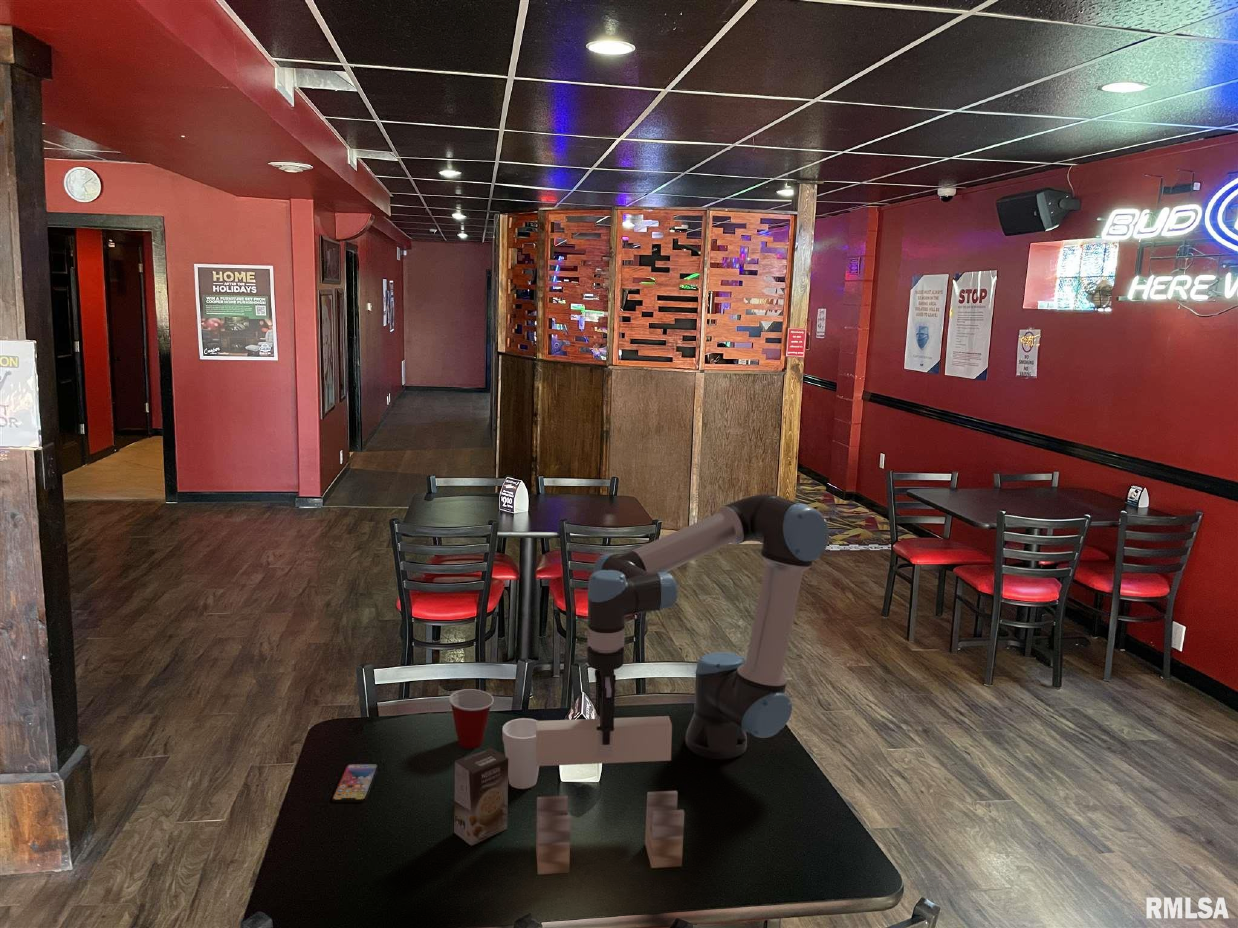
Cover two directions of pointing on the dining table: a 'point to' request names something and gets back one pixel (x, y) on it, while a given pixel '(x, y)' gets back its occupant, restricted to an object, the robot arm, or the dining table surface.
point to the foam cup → (521, 752)
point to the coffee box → (481, 795)
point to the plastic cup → (470, 715)
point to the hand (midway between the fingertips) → (603, 750)
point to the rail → (581, 741)
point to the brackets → (659, 837)
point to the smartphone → (355, 783)
